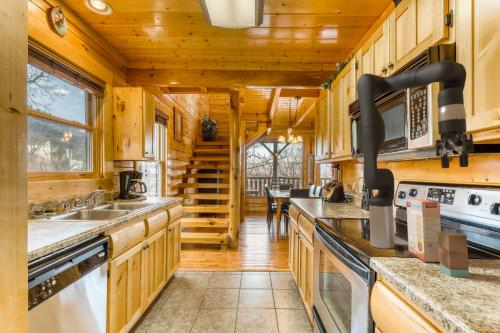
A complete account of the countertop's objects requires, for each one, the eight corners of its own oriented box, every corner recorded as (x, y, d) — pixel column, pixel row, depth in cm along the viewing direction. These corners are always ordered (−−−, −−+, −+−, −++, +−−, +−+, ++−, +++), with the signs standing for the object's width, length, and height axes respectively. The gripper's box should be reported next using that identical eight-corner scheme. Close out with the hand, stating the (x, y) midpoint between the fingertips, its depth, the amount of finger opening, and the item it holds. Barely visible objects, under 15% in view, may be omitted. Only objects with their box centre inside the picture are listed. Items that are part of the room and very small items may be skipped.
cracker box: (444, 263, 88) (440, 201, 89) (424, 262, 89) (420, 201, 90) (425, 252, 102) (422, 198, 103) (408, 251, 103) (405, 198, 104)
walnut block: (454, 231, 82) (457, 270, 81) (437, 231, 82) (439, 270, 81) (466, 235, 77) (469, 276, 76) (448, 235, 77) (450, 276, 76)
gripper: (427, 124, 96) (429, 168, 95) (455, 115, 82) (458, 166, 81) (448, 124, 96) (450, 168, 95) (480, 114, 81) (483, 166, 81)
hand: (454, 167), depth 88 cm, fingers open, 8 cm apart
